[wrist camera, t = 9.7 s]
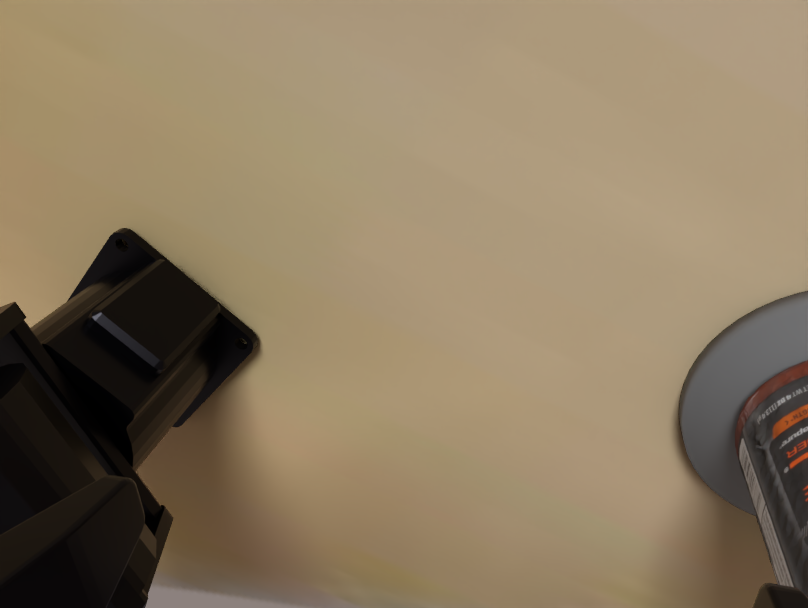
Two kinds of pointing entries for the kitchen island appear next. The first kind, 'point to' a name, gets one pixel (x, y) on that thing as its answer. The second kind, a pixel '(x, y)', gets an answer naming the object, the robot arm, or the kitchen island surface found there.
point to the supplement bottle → (779, 469)
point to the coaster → (737, 388)
